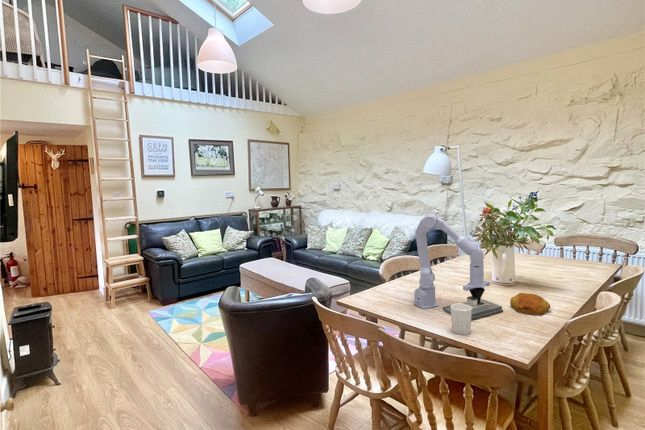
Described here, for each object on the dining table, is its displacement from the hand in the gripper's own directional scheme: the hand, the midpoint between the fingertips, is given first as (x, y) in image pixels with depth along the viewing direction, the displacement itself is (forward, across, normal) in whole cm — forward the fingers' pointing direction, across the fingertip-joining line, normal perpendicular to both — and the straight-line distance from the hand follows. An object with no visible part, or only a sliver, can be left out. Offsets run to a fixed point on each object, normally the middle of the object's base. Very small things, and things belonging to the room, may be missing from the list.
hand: (476, 303), depth 161 cm
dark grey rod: (+3, -3, +8) cm, 9 cm away
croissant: (+3, +20, -11) cm, 23 cm away
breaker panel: (+3, -2, 0) cm, 4 cm away
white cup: (+3, -23, -13) cm, 26 cm away
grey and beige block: (+1, -3, 0) cm, 3 cm away
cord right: (+3, -3, -8) cm, 9 cm away
